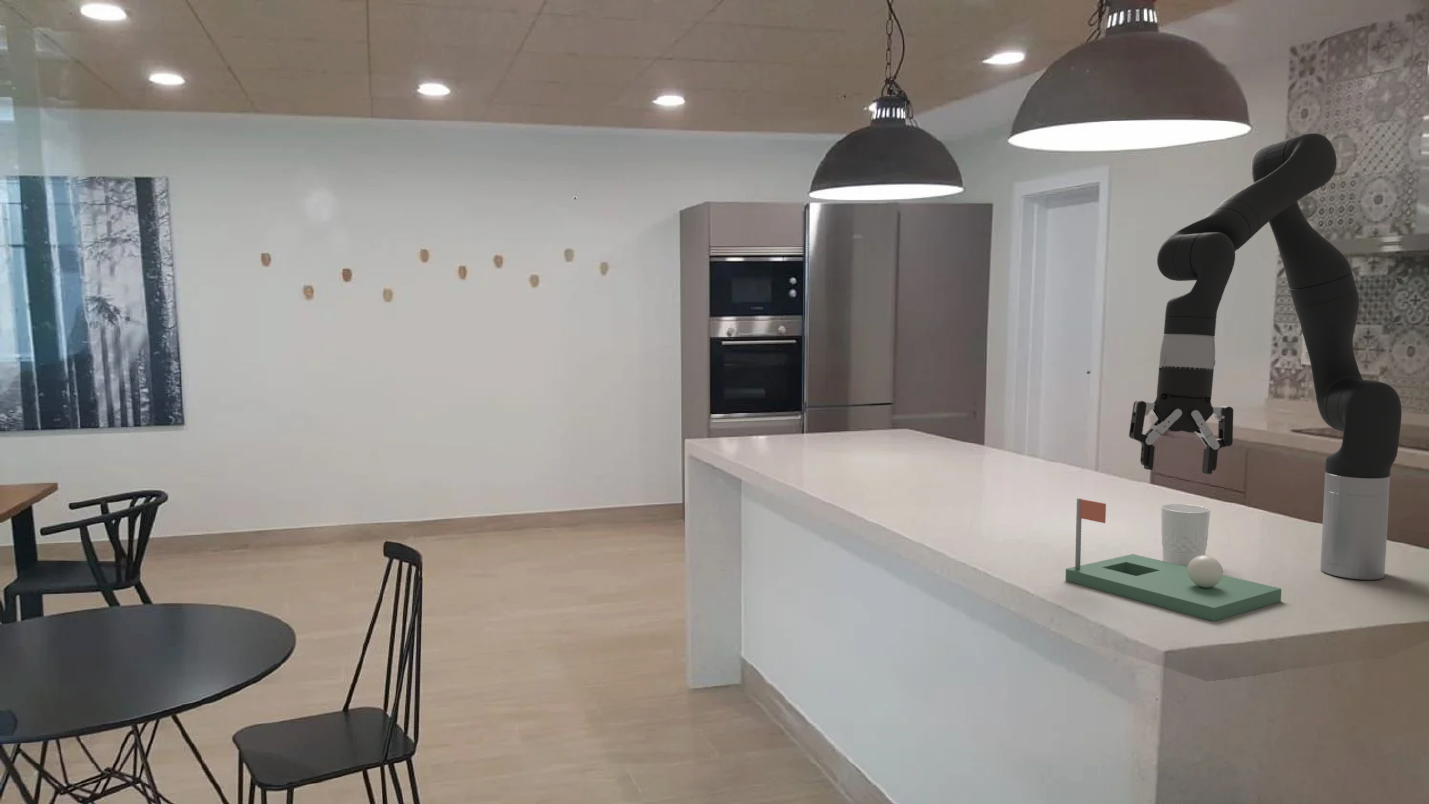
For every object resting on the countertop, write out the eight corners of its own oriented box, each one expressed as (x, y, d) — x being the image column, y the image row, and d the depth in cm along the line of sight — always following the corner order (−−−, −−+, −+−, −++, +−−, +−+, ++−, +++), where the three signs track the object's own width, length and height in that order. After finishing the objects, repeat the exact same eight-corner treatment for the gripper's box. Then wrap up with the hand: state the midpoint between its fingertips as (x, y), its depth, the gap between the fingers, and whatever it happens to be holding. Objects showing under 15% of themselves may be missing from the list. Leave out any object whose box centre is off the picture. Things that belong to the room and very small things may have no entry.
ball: (1198, 580, 156) (1200, 550, 155) (1229, 588, 151) (1230, 556, 151) (1180, 585, 153) (1181, 554, 153) (1210, 593, 149) (1211, 561, 148)
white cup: (1166, 555, 180) (1168, 502, 179) (1212, 561, 175) (1214, 507, 174) (1154, 563, 174) (1155, 508, 173) (1201, 571, 169) (1204, 514, 168)
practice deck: (1132, 565, 173) (1134, 487, 172) (1280, 601, 151) (1284, 512, 150) (1065, 580, 164) (1067, 498, 163) (1213, 621, 142) (1217, 527, 140)
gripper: (1226, 368, 150) (1217, 472, 151) (1130, 362, 152) (1121, 465, 153) (1246, 368, 143) (1236, 478, 144) (1144, 362, 145) (1135, 470, 146)
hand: (1177, 471), depth 148 cm, fingers open, 8 cm apart
